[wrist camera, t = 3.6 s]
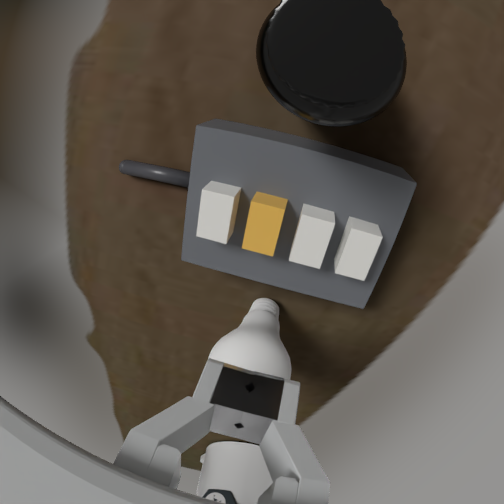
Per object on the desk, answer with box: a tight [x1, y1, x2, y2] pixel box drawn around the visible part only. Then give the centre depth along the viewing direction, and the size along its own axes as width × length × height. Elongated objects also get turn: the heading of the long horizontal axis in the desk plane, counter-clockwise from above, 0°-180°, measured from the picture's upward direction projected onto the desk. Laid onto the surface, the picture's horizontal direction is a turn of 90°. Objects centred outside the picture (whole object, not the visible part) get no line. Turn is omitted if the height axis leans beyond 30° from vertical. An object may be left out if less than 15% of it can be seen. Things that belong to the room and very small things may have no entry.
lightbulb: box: [208, 298, 291, 380], centre depth 25 cm, size 6×6×11 cm
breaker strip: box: [119, 119, 417, 309], centre depth 22 cm, size 22×10×6 cm, turn 79°
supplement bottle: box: [256, 0, 407, 126], centre depth 14 cm, size 7×7×12 cm
